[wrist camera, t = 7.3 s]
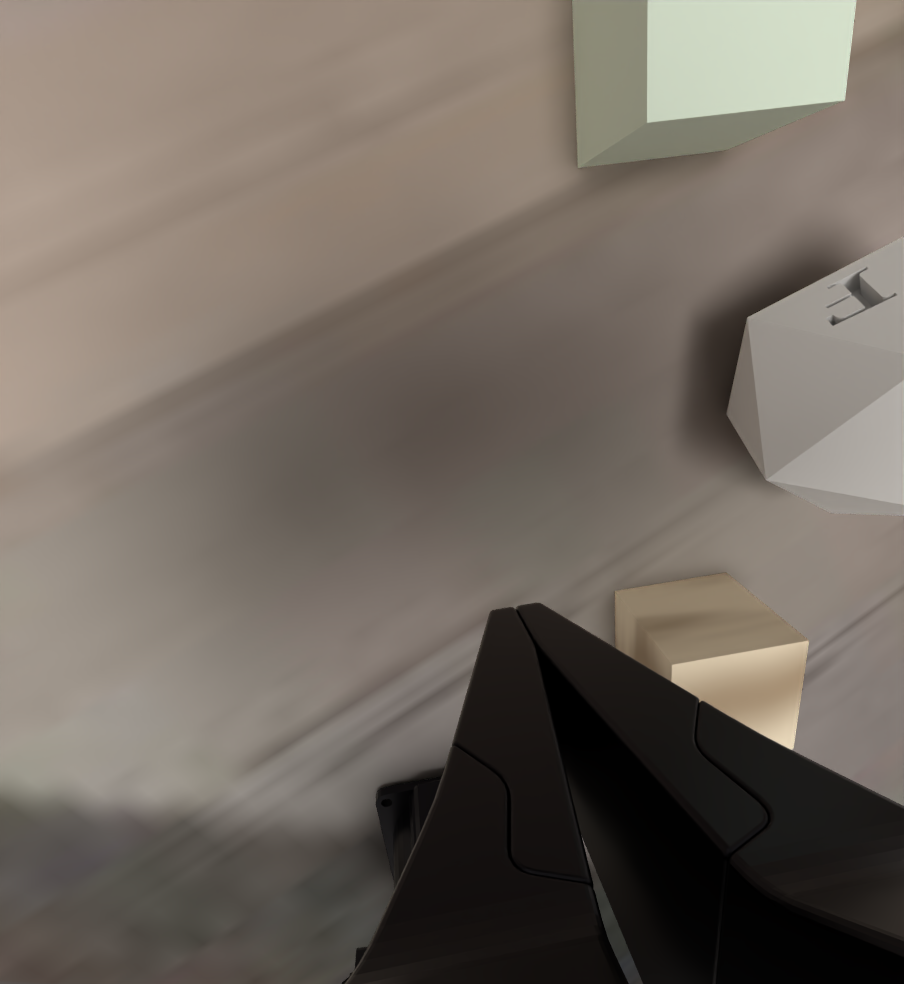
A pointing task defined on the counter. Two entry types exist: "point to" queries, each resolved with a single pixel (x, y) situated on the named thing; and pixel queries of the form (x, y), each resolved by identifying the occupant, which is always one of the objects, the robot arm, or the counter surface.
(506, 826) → the robot arm
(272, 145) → the counter surface
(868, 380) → the die
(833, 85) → the sage block
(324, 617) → the counter surface
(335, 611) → the counter surface
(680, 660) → the birch block
